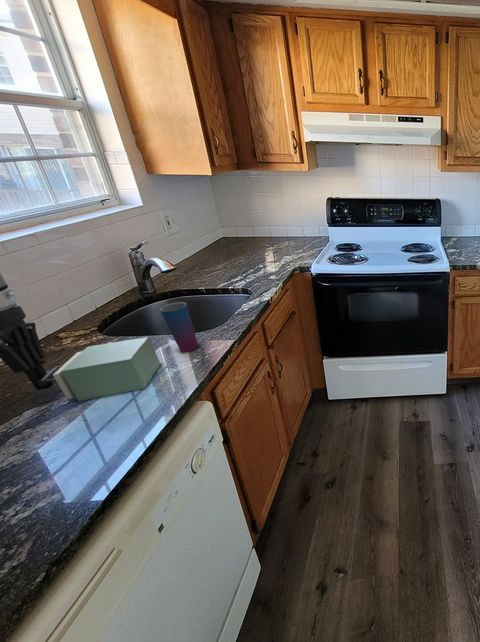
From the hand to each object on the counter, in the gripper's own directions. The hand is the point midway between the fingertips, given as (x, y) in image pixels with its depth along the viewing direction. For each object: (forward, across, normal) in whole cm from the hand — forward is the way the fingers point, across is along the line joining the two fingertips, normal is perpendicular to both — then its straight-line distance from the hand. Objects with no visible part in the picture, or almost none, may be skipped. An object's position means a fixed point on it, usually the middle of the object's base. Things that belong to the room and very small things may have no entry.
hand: (45, 387), depth 97 cm
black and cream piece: (+2, 0, -11) cm, 11 cm away
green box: (+3, 0, -16) cm, 17 cm away
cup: (+3, +14, -30) cm, 33 cm away
